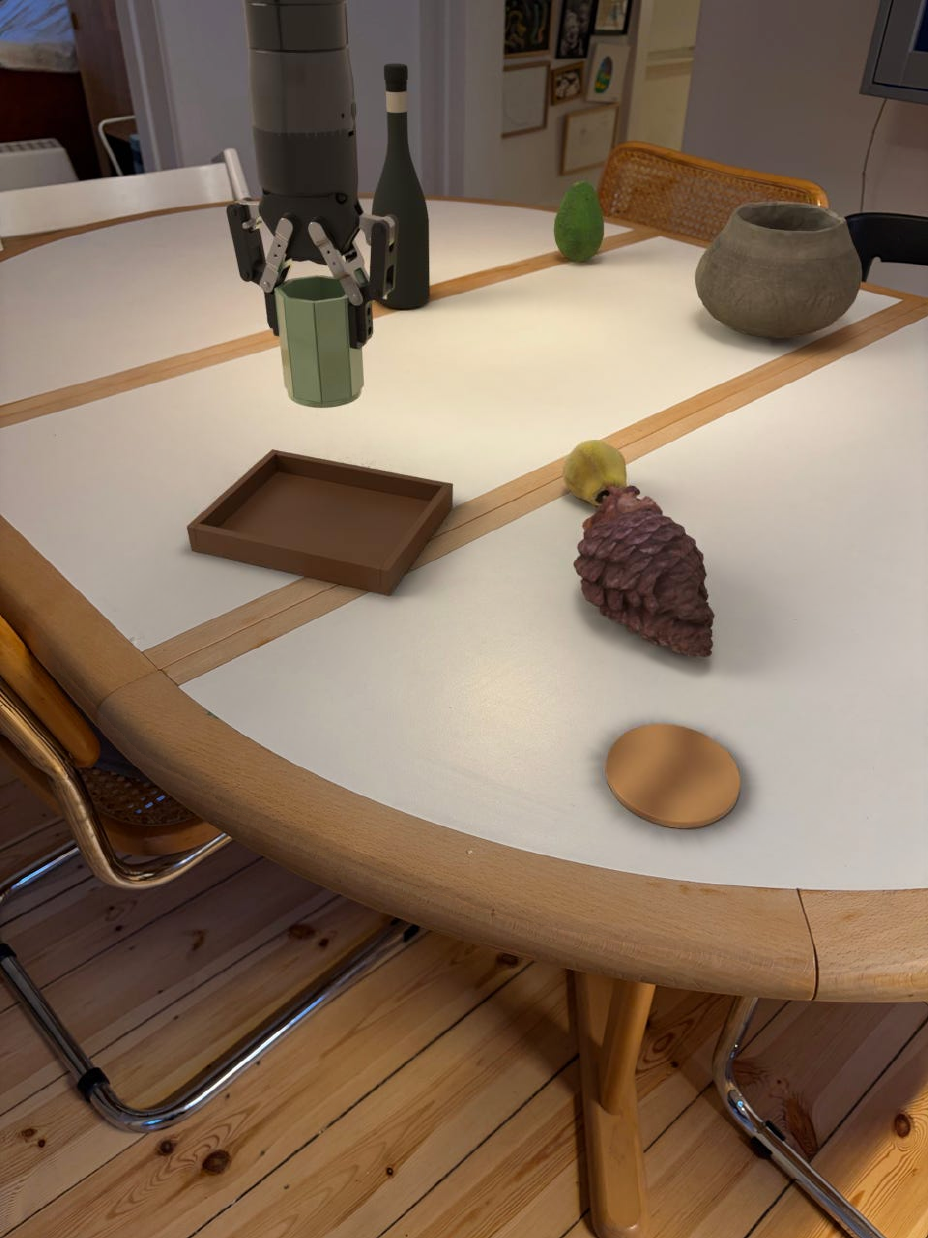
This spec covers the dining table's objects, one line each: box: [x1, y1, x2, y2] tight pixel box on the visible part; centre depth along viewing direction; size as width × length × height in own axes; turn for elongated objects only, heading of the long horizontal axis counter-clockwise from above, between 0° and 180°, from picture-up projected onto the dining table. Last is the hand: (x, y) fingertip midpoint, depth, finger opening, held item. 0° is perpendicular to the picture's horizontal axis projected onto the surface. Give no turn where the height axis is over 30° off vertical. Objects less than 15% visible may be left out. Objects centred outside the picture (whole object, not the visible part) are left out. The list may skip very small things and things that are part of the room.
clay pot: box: [694, 200, 863, 339], centre depth 125 cm, size 22×21×15 cm
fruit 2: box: [562, 439, 628, 506], centre depth 91 cm, size 6×6×10 cm
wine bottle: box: [371, 63, 431, 310], centre depth 127 cm, size 8×8×30 cm
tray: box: [186, 448, 454, 596], centre depth 87 cm, size 20×16×3 cm
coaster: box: [605, 723, 741, 829], centre depth 64 cm, size 9×9×1 cm
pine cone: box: [572, 484, 716, 658], centre depth 75 cm, size 18×10×10 cm
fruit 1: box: [553, 180, 605, 263], centre depth 148 cm, size 8×8×12 cm
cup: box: [274, 274, 365, 409], centre depth 79 cm, size 6×6×9 cm
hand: (321, 339), depth 78 cm, fingers closed on cup, 6 cm apart
